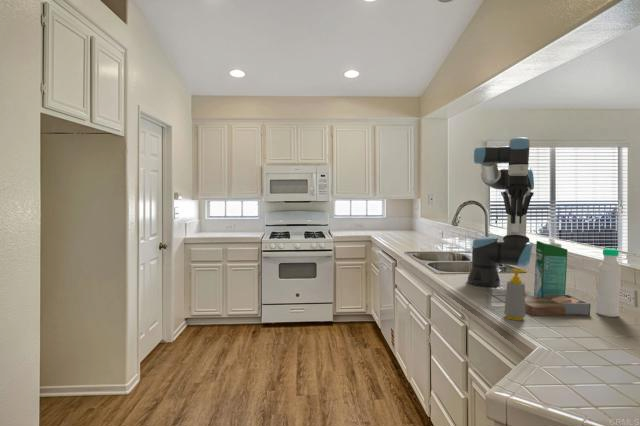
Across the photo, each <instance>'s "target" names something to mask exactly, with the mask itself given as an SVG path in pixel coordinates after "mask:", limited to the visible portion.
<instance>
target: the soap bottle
mask: <svg viewBox="0 0 640 426" xmlns="http://www.w3.org/2000/svg"><path fill="white" fill-rule="evenodd" d="M511 270H512V271H514V272H513V274H514V276H512V278H510V280H509V281H507V282H506V291H505V301H504V311H503V312H504V313H503V314H504V315H505V317H506V319H509V320H513V321H522V320H524V318H525V317H526V311H525V297H526V289H525V288H526V287H525V285H526V284H525V282H522V280H521V278H520V276H519V273H527V270H521V269H516V268H511Z"/></svg>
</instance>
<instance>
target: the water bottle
mask: <svg viewBox="0 0 640 426" xmlns="http://www.w3.org/2000/svg"><path fill="white" fill-rule="evenodd" d="M619 253H620V252H619V250H618V249H616V248H615V249H614V248H604V249H602V255H603V259H602V260H601V261H600V263H599V264H598V267H597V270H598V273H597V282H596V283H597V284H596V287H597V288H596V289H597V291H596V292H597V295H596V305H595V313H596V314H598V315H600V316H602V317H603V316H604V317H609V318H616V317H619V315H620V303H621V302H620V294H621V286H622V285H621V282H622V276H621V272H622V267H621V265H620V262H619V260H618V259H617V258H618V257H619Z"/></svg>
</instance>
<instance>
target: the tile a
mask: <svg viewBox="0 0 640 426" xmlns="http://www.w3.org/2000/svg"><path fill="white" fill-rule="evenodd" d="M551 301H552V302H554V303H556V304H558V305H560V306H562V307H563V303H572V301H571V299H569V298H567V297H565V296H560V297H557V298H553V299H551Z"/></svg>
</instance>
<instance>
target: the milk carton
mask: <svg viewBox="0 0 640 426" xmlns="http://www.w3.org/2000/svg"><path fill="white" fill-rule="evenodd" d="M562 246H563V245H562V244H560V243H558V242H557V243H556V242H553V241H551V243H547V242H543V241H540V240H536V246H535V264H534V265H535V268H534V269H535V270H534V284H533V285H534V287H533V288H534V289H533V297H544V294H566V286H567V285H566V284H567V267H568V265H567V264H568V249H567V248H564V247H562Z"/></svg>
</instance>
